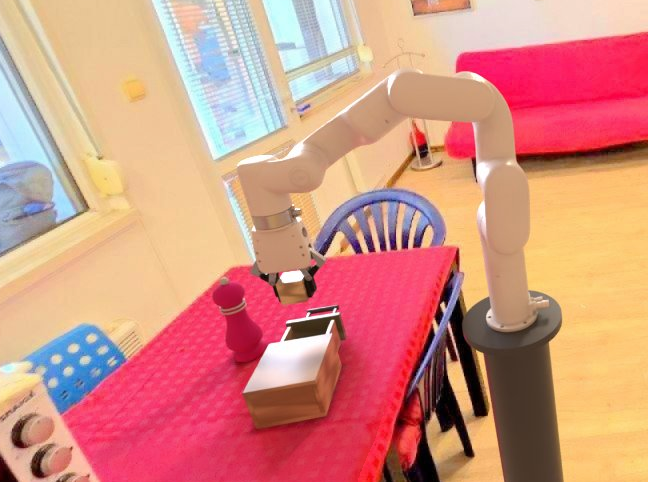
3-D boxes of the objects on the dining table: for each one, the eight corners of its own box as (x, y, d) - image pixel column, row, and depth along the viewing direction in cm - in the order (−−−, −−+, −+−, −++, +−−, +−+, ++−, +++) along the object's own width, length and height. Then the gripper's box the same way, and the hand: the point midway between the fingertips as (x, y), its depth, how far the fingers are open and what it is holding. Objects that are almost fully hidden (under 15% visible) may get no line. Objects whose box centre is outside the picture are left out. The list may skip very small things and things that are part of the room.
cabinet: (280, 377, 111) (269, 343, 108) (342, 366, 112) (332, 332, 109) (255, 429, 97) (242, 393, 94) (326, 416, 99) (315, 380, 96)
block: (313, 289, 113) (307, 269, 111) (307, 301, 108) (301, 280, 106) (289, 293, 112) (283, 272, 110) (281, 305, 107) (275, 284, 106)
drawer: (303, 327, 126) (296, 303, 123) (352, 319, 127) (346, 295, 125) (276, 386, 107) (266, 359, 104) (334, 375, 108) (326, 348, 106)
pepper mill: (225, 360, 117) (195, 284, 110) (252, 341, 124) (226, 267, 116) (247, 366, 115) (218, 288, 107) (275, 346, 121) (249, 271, 114)
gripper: (323, 205, 108) (343, 281, 115) (235, 216, 106) (261, 293, 112) (314, 219, 101) (336, 299, 108) (220, 232, 99) (248, 313, 105)
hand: (297, 295), depth 110 cm, fingers closed on block, 5 cm apart
